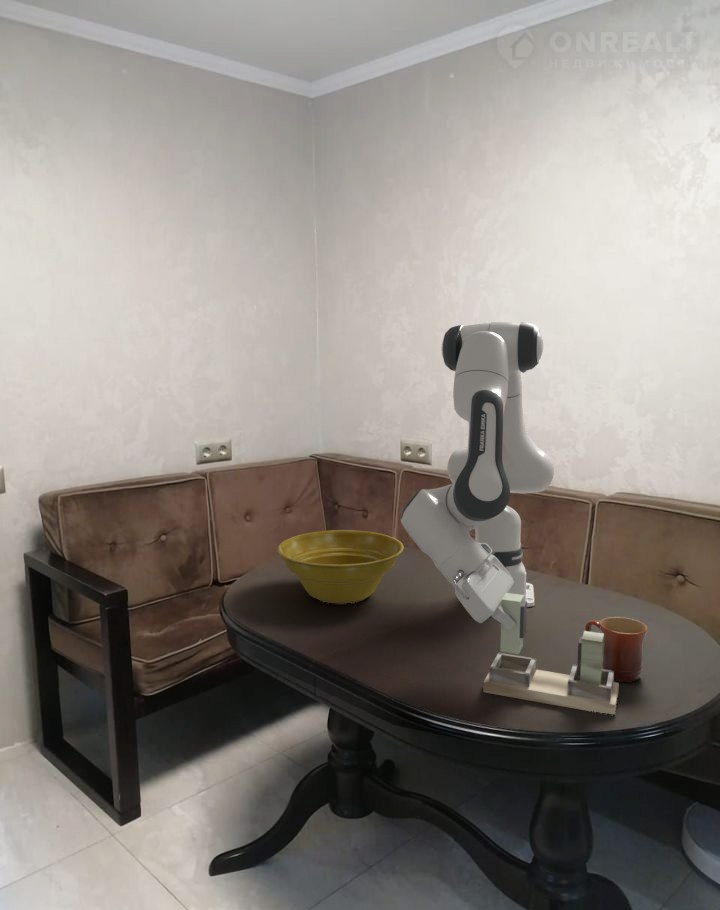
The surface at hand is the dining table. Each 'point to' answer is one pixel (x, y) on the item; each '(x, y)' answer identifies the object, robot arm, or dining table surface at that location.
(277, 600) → the dining table surface
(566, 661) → the dining table surface
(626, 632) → the mug
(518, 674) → the cream peg holder
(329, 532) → the planter bowl
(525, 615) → the block
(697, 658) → the dining table surface
